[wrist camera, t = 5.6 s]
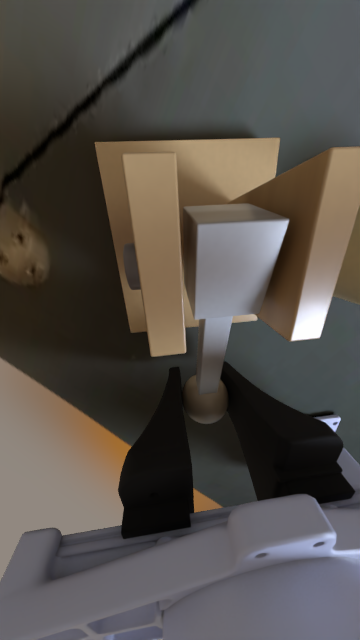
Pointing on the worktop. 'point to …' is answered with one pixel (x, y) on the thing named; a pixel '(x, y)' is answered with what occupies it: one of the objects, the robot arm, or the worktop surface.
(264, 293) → the lever with ball knob
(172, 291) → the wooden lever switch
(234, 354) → the worktop surface
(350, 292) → the cake
